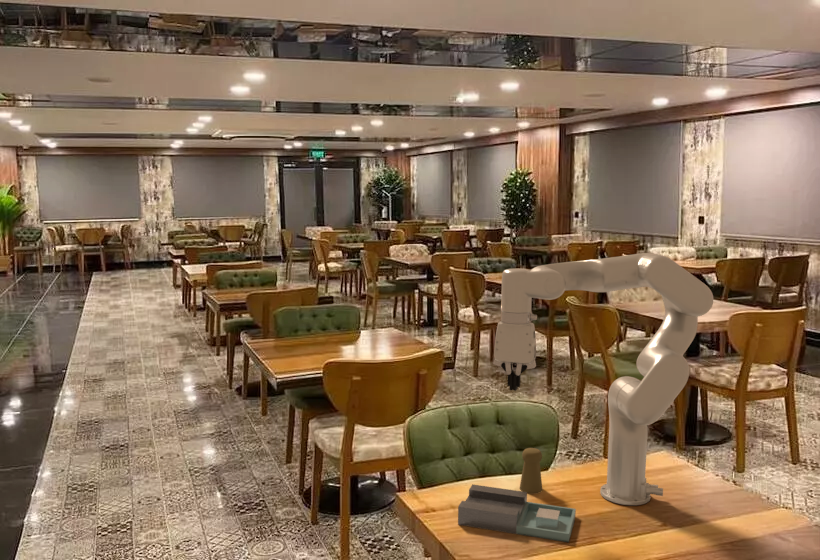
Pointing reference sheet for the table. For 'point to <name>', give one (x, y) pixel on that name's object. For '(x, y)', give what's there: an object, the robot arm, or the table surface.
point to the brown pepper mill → (531, 471)
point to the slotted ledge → (492, 508)
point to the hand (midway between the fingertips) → (513, 389)
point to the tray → (561, 534)
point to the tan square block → (547, 518)
